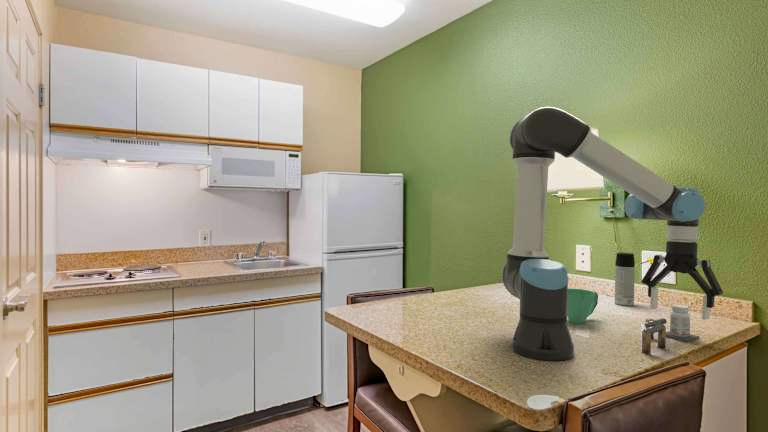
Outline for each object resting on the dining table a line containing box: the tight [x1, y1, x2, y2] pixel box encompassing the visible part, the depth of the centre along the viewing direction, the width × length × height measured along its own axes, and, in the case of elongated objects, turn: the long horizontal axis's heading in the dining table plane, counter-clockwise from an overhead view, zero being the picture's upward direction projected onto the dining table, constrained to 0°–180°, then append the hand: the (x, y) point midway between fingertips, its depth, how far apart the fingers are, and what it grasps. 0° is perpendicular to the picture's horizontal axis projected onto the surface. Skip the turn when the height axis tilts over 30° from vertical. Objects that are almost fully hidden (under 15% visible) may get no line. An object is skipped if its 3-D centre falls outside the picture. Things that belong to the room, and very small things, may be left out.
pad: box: [666, 330, 700, 343], centre depth 126 cm, size 7×7×1 cm
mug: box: [567, 288, 599, 324], centre depth 144 cm, size 15×10×10 cm
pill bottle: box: [669, 304, 691, 337], centre depth 126 cm, size 5×5×8 cm
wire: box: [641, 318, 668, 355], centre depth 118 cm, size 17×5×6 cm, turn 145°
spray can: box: [614, 252, 636, 307], centre depth 169 cm, size 7×7×20 cm
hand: (678, 313), depth 126 cm, fingers open, 13 cm apart
